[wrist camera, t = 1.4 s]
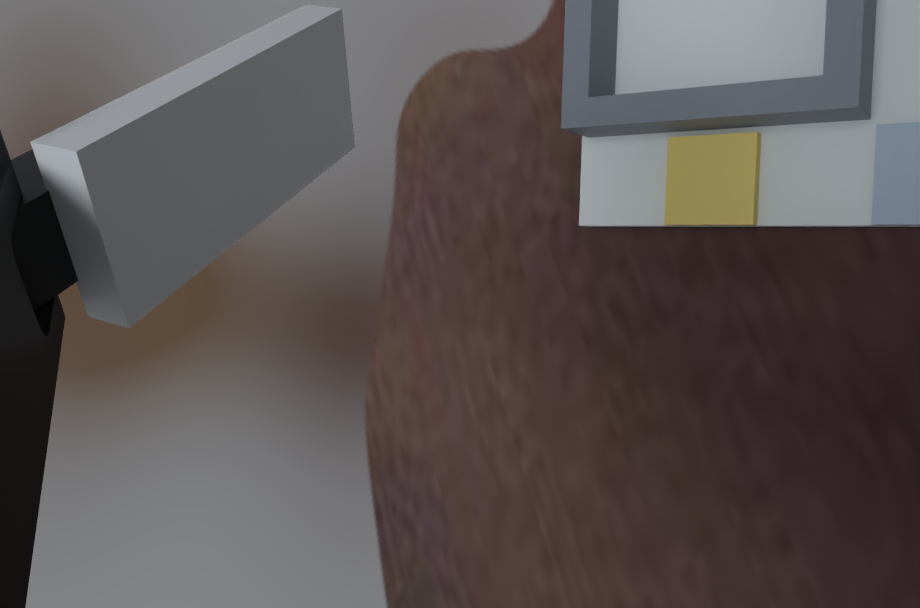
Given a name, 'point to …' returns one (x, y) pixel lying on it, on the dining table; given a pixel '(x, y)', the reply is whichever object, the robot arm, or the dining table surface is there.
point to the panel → (745, 112)
